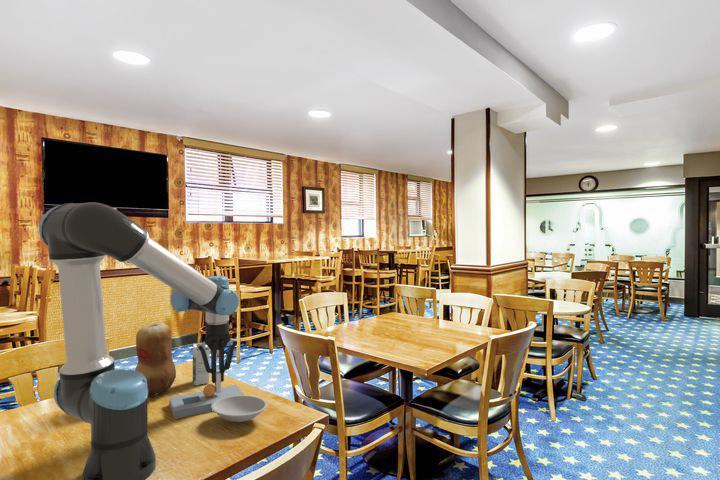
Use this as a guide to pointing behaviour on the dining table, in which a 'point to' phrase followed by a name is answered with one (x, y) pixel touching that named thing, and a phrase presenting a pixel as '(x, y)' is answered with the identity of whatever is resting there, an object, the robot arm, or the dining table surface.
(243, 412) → the dish
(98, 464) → the robot arm
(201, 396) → the hole plate
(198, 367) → the syrup box
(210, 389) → the ball
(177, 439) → the dining table surface
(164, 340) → the butternut squash
